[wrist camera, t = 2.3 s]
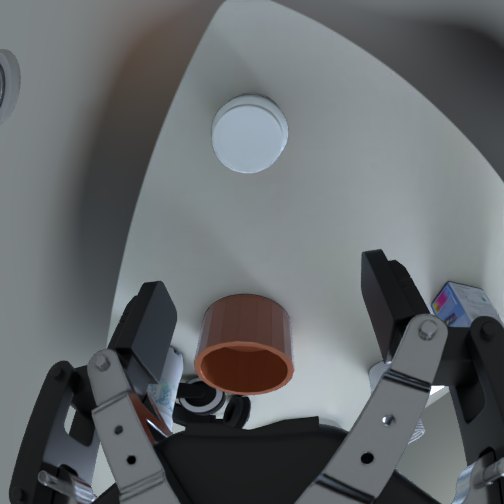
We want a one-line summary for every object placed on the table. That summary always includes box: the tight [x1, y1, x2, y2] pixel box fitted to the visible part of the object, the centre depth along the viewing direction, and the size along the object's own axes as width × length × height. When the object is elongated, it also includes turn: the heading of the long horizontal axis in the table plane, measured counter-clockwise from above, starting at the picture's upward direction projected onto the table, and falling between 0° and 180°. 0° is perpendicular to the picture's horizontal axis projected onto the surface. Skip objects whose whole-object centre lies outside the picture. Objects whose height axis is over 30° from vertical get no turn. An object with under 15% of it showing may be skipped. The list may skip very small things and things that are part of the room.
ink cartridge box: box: [431, 282, 504, 328], centre depth 32 cm, size 10×6×14 cm, turn 78°
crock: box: [194, 294, 295, 395], centre depth 39 cm, size 13×13×8 cm
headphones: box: [172, 377, 251, 429], centre depth 52 cm, size 18×8×20 cm
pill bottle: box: [211, 93, 289, 173], centre depth 22 cm, size 6×6×10 cm
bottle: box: [147, 347, 183, 431], centre depth 39 cm, size 7×7×20 cm
